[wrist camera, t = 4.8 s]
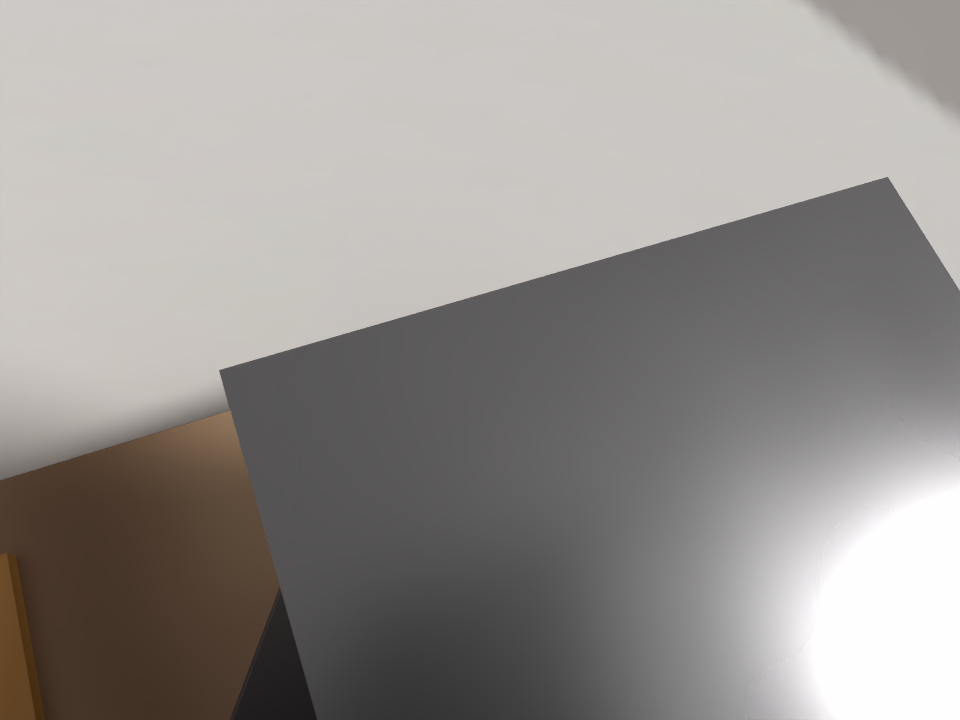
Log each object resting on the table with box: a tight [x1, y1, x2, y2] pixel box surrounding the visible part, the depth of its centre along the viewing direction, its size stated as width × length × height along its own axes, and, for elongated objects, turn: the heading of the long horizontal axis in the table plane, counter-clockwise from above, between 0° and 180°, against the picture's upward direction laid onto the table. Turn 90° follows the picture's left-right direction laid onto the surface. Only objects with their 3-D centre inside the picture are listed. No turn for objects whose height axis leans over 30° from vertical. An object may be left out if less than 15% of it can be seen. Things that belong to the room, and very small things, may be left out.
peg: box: [219, 177, 960, 720], centre depth 9 cm, size 4×4×12 cm
